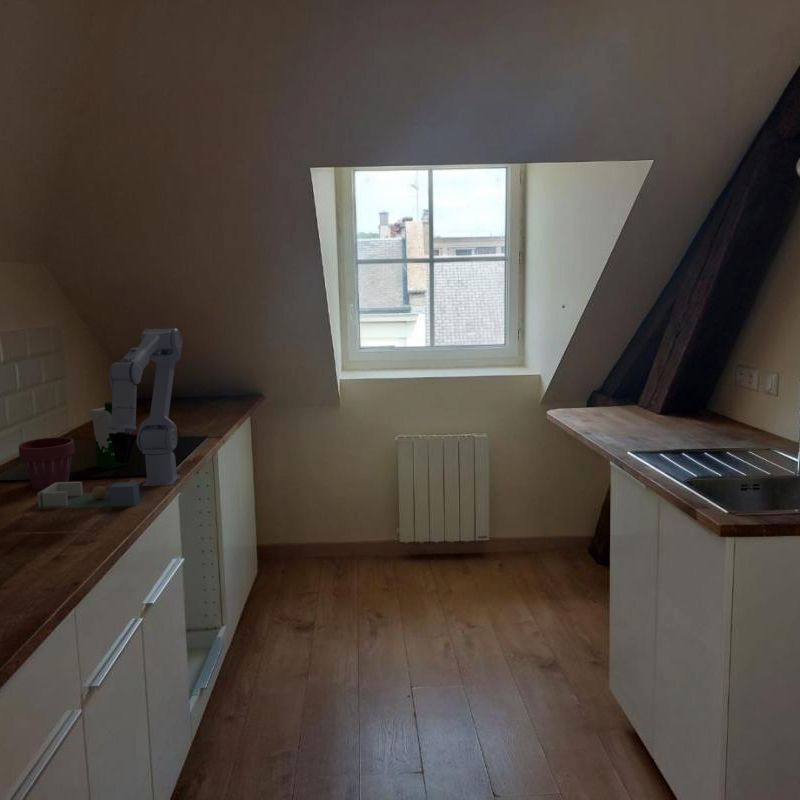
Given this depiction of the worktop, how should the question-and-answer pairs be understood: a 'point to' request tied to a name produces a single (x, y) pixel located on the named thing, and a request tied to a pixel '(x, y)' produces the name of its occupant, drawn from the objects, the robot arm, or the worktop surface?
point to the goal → (59, 493)
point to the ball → (99, 492)
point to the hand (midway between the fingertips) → (122, 462)
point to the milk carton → (104, 437)
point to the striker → (124, 494)
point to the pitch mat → (91, 501)
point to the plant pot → (47, 460)
